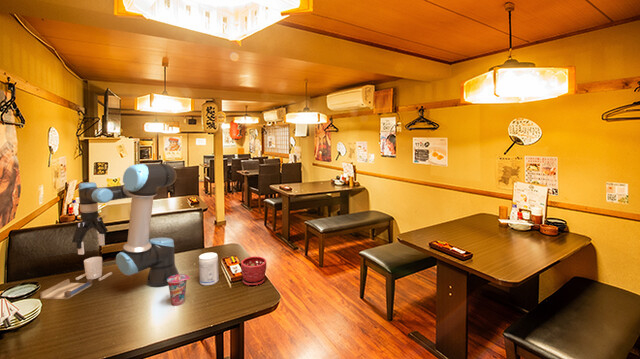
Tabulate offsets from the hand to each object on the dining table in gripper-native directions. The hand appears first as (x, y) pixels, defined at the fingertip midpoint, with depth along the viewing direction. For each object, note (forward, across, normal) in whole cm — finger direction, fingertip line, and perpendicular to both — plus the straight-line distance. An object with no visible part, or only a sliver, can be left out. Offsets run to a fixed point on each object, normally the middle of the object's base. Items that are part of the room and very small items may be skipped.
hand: (92, 249), depth 155 cm
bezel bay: (+15, +16, 0) cm, 22 cm away
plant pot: (+15, +1, +89) cm, 91 cm away
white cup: (+16, 0, 0) cm, 16 cm away
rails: (+16, 0, 0) cm, 16 cm away
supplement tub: (+15, +2, +65) cm, 67 cm away
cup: (+15, +23, +60) cm, 66 cm away
